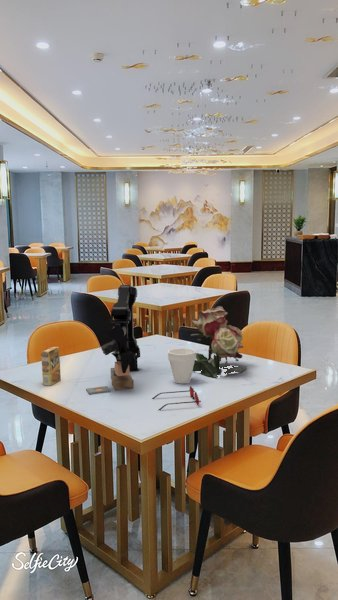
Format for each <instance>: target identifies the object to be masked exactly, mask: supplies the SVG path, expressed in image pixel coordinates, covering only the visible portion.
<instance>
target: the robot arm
mask: <svg viewBox="0 0 338 600" xmlns="http://www.w3.org/2000/svg"><path fill="white" fill-rule="evenodd" d="M117 296H118V297H117V298H118V299H117V302H115V303H114V304H113V306H112V308H111V309H110V318H109V319H110V320H109V324H111V325H113V327H112V328H111V330H110V332H109V334H110V335H109V337H110V338H111V339H112V341H110V342H108V343H105V344H103V345H101V346H100V348H101V351H102V353H103V354H104V356H108V355H110V354H111V355H112V356H113V357H114V358H115V360H116V361H115V362H117V361H120V362H121V367H122V372H123V373H125V372H126V370H127V368H128V366H129V372H134V371H135V372H136V371H139V370H140V369H139V368H138V358H141V348H140V347H139V345H138V339H136V337H135V336H134V333H135V331H134V304H135V302H136V300H137V297H138V289H137V287H135V286H133V285H131V284H120V285H119V286H118V288H117Z"/></svg>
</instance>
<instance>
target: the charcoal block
mask: <svg viewBox="0 0 338 600" xmlns="http://www.w3.org/2000/svg"><path fill="white" fill-rule="evenodd" d="M112 376H117V375H116V374H115V367H110V379H111V380H112Z"/></svg>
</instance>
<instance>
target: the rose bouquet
mask: <svg viewBox="0 0 338 600" xmlns="http://www.w3.org/2000/svg"><path fill="white" fill-rule="evenodd" d="M228 313H229V312H227V311H226V310H225V309H224V308H223V306H221V305H217V306H216V307H212V306H211V308H208V309H205V311H199V312H197V314H198V317H199V319H198V320H190V321H191V322H192V323H193V324H194V326H195V327H196V329H197V330H198V331H199V332H200V333H192V334H190V337H205V339H209V341H210V342H209V346H208V350H207V349H204V350H205V351H206V350H207V351H208V356H205V355H204V354H203V353H199V352H196V359H195V362H194V366H193V371H201V370H202V371H201V373H200V374H201V375H204V376H207V377H213V378H216V379H218V378H217V377H218V376H217V375H219V374H220V372H219V371H220V369H219V367H220V368H222V367H223V369H227V371H226V372H224V373H225V374H226V373H227V374H228V373H231V372H234V371H235V372H240V373H242V372H244V371H245V369H247V366H243V367H242V366H241V365H237V366H238V367H234V366H232V367H233V368H230V369H228V368H224V367H227V366H230V365H231V364H229V363H228V358H233V359H235V361H236V362H240V361H239V359H242V358H243V354H241V352H239V350H240V349H241V348H244V345H243V344H242V341H243V334H242V333H243V331H242V330H241V329H240V328H239V327H236V326H234V325H233V326H232V325H231V324H228V322H229V321H228V320H227V319H226V317H227V315H228ZM196 340H197V341H202V338H197V339H196ZM212 356H213V357H212ZM224 358H225V360H226V361H225V362H224V363H223V362H222V359H224ZM228 375H229V374H228Z"/></svg>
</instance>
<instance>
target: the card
mask: <svg viewBox="0 0 338 600" xmlns="http://www.w3.org/2000/svg"><path fill="white" fill-rule="evenodd" d="M85 391H86V392H87V393H88V395H89V396H90V395H98V394H105V393H111V392H112V391H111V388H110V387H109V386H108V385H104V386H96V387H88V388H85Z"/></svg>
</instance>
